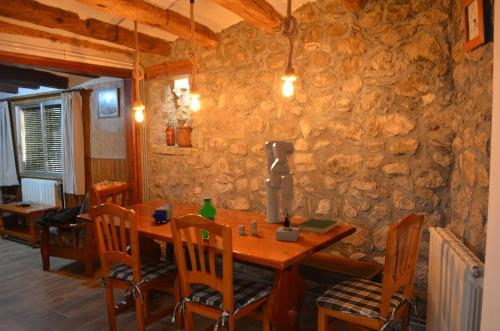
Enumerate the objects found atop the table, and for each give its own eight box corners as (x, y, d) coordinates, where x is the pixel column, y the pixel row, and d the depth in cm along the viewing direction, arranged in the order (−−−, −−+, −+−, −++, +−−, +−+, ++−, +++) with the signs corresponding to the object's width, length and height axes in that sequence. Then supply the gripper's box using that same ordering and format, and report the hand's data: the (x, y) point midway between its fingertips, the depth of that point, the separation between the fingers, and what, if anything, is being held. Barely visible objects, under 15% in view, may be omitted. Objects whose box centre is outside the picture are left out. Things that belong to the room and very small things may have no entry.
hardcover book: (312, 223, 265) (312, 218, 265) (338, 226, 255) (338, 221, 254) (296, 230, 245) (296, 225, 245) (323, 234, 234) (323, 228, 234)
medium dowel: (251, 233, 237) (251, 221, 237) (257, 233, 236) (257, 221, 236) (250, 235, 234) (249, 222, 233) (256, 235, 233) (256, 222, 232)
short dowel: (239, 232, 240) (239, 225, 239) (245, 233, 239) (245, 225, 238) (237, 234, 236) (237, 226, 236) (243, 234, 235) (243, 226, 234)
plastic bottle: (217, 240, 222) (217, 199, 220) (200, 241, 219) (199, 199, 218) (215, 236, 231) (215, 196, 230) (198, 237, 229) (197, 197, 227)
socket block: (279, 234, 234) (279, 226, 233) (299, 235, 230) (299, 227, 230) (275, 239, 222) (275, 231, 222) (296, 240, 219) (295, 232, 218)
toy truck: (174, 217, 291) (173, 204, 290) (166, 224, 266) (165, 210, 265) (161, 217, 291) (160, 204, 290) (152, 224, 266) (151, 210, 266)
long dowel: (284, 233, 229) (284, 210, 227) (291, 233, 227) (291, 211, 226) (283, 235, 225) (283, 212, 224) (290, 235, 224) (290, 212, 223)
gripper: (283, 194, 233) (284, 222, 235) (278, 198, 217) (278, 229, 219) (295, 194, 231) (295, 223, 233) (291, 198, 215) (291, 229, 217)
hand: (287, 225), depth 226 cm, fingers closed on long dowel, 4 cm apart
